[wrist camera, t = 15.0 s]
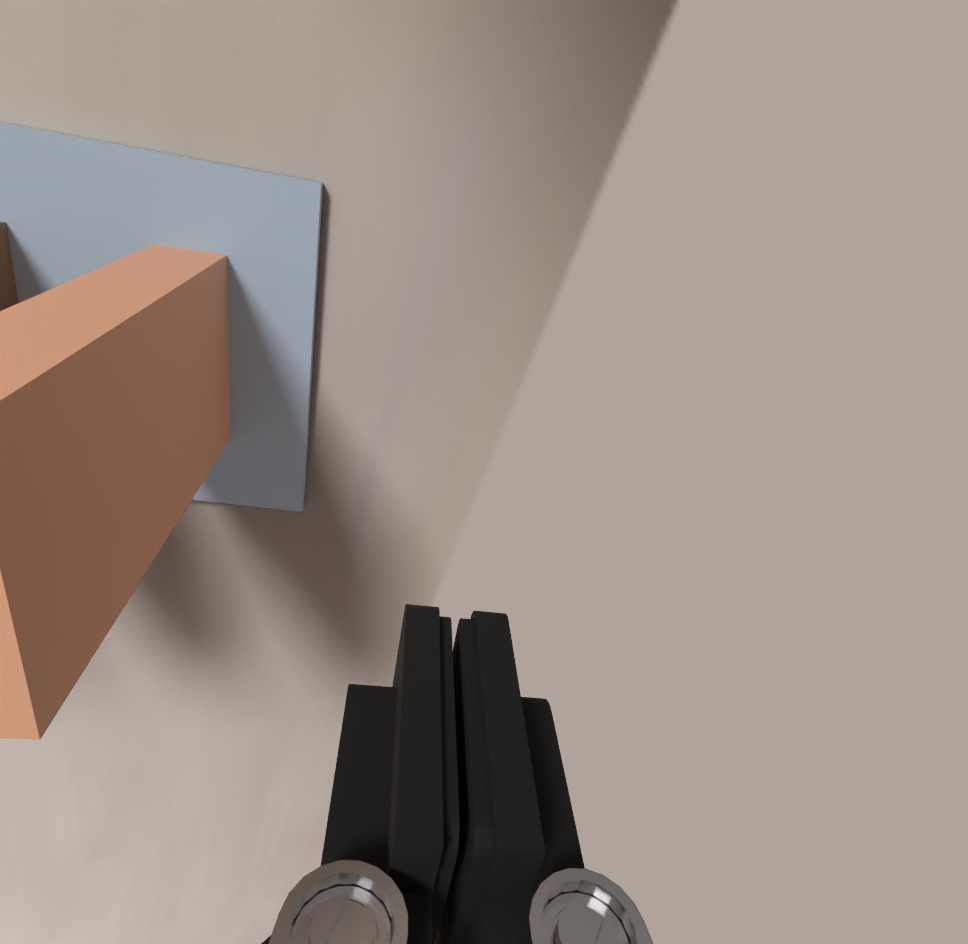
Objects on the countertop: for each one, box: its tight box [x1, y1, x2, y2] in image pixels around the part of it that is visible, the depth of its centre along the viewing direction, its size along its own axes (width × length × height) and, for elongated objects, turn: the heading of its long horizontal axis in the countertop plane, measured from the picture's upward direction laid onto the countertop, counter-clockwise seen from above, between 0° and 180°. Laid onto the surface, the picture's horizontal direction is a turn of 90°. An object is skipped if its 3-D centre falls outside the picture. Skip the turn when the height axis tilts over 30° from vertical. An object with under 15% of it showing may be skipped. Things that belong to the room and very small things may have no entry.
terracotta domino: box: [0, 244, 231, 740], centre depth 15 cm, size 2×6×12 cm, turn 171°
